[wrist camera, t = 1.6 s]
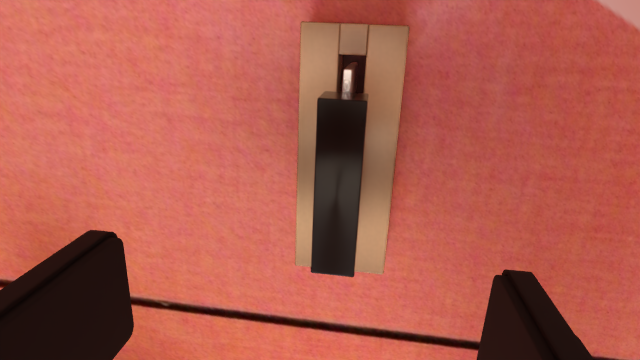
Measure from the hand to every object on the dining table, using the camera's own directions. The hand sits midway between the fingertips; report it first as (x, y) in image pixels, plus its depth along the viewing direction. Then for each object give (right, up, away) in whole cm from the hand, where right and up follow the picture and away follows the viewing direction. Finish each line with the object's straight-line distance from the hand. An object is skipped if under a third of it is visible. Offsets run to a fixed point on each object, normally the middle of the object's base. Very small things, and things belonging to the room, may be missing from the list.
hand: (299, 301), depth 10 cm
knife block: (+2, +5, +15) cm, 16 cm away
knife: (+2, +5, +15) cm, 16 cm away
